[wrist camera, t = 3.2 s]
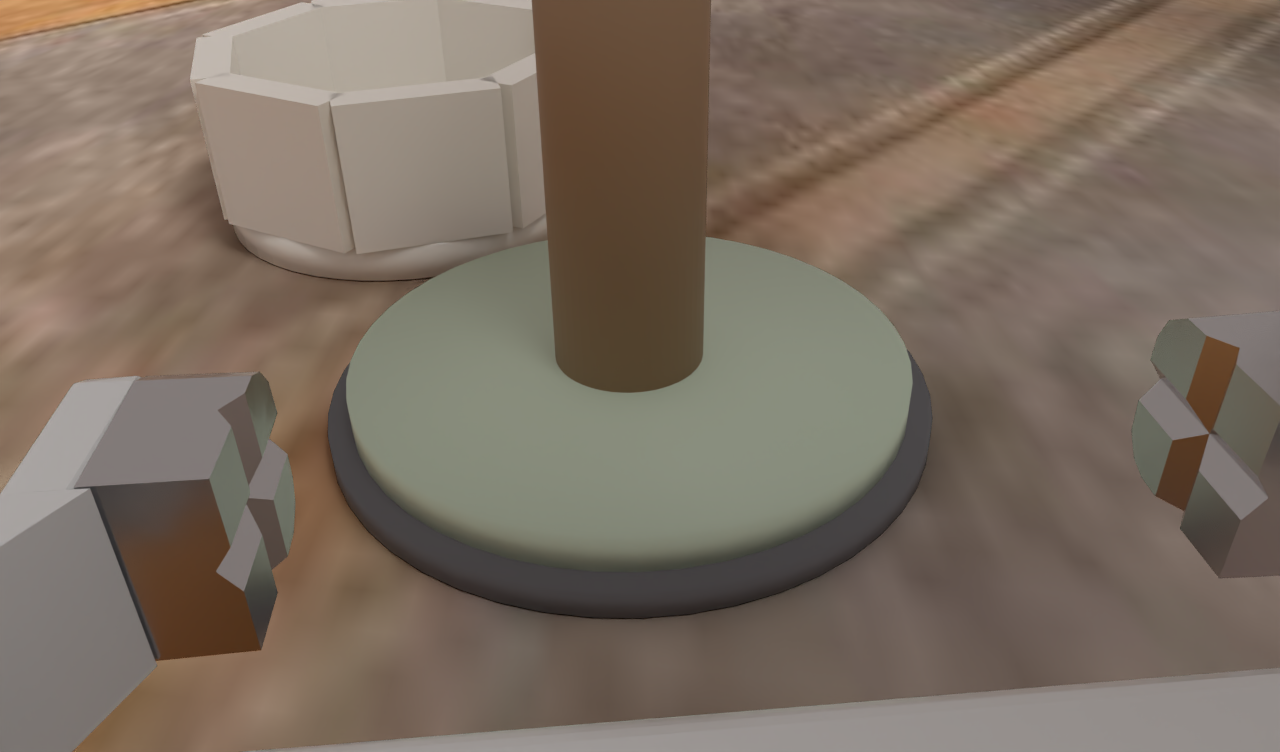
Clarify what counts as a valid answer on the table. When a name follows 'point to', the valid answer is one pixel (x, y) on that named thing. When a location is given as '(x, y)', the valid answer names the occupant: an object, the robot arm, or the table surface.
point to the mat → (632, 589)
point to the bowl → (375, 134)
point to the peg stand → (628, 342)
